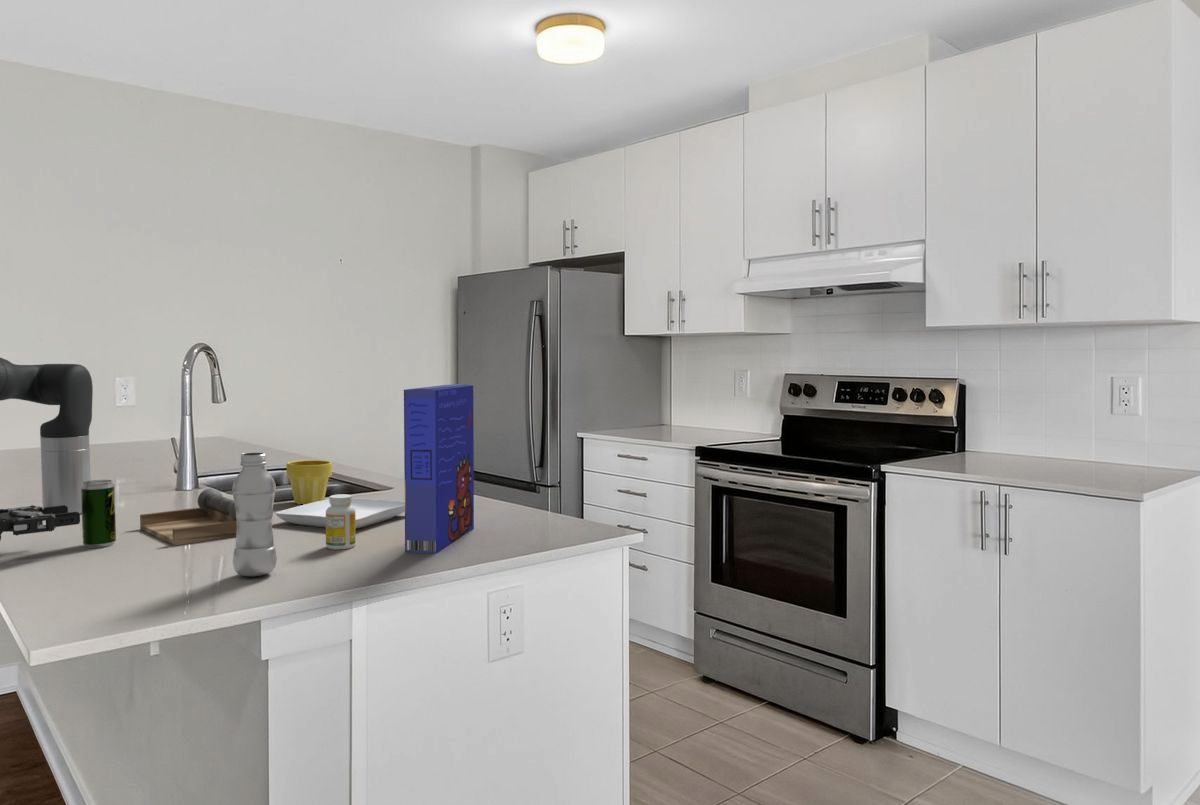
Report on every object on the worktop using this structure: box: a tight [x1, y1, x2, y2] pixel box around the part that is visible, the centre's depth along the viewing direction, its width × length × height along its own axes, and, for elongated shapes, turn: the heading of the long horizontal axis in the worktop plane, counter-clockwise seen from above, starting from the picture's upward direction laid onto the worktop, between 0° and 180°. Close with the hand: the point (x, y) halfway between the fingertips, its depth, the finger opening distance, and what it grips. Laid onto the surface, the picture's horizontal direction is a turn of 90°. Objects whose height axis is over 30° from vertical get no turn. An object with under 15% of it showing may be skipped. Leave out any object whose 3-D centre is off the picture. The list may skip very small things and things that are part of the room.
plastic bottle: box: [231, 452, 278, 578], centre depth 139 cm, size 6×7×20 cm
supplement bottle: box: [325, 493, 357, 551], centre depth 159 cm, size 5×5×10 cm
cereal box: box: [403, 383, 475, 554], centre depth 165 cm, size 22×6×30 cm, turn 170°
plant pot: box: [286, 459, 333, 505], centre depth 205 cm, size 10×10×10 cm
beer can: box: [81, 479, 117, 549], centre depth 159 cm, size 5×5×12 cm
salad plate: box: [275, 497, 405, 530], centre depth 184 cm, size 21×21×3 cm
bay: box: [139, 487, 237, 546], centre depth 172 cm, size 20×16×7 cm
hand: (73, 514), depth 156 cm, fingers open, 8 cm apart
